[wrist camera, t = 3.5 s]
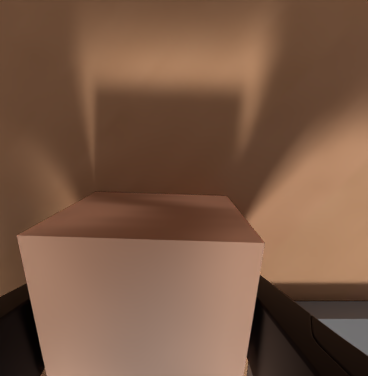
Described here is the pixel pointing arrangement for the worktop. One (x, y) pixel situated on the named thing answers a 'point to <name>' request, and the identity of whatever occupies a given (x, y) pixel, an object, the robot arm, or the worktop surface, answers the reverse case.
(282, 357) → the robot arm
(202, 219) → the terracotta block
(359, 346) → the board
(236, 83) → the worktop surface
